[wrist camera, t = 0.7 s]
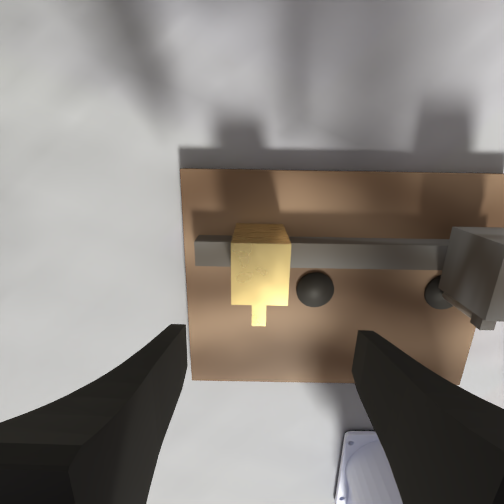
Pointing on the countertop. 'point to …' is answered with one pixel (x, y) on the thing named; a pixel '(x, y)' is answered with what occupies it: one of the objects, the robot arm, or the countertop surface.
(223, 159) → the countertop surface
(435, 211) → the board
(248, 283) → the leg
